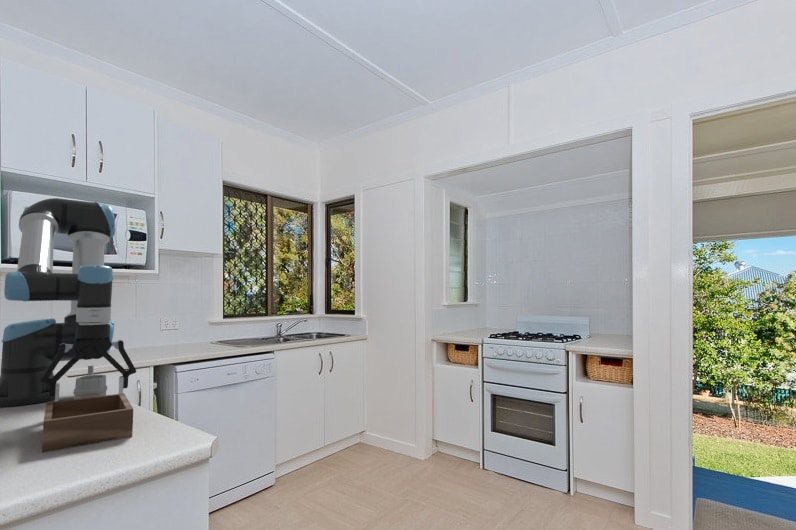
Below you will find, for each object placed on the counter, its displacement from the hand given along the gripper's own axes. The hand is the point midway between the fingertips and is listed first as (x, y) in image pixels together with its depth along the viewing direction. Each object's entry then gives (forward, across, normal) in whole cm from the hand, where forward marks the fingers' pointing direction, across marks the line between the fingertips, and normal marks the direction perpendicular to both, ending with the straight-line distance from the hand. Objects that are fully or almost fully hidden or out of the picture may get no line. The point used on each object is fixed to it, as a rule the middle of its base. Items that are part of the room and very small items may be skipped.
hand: (89, 405), depth 112 cm
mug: (+2, 0, 0) cm, 2 cm away
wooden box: (+2, -1, -18) cm, 18 cm away
